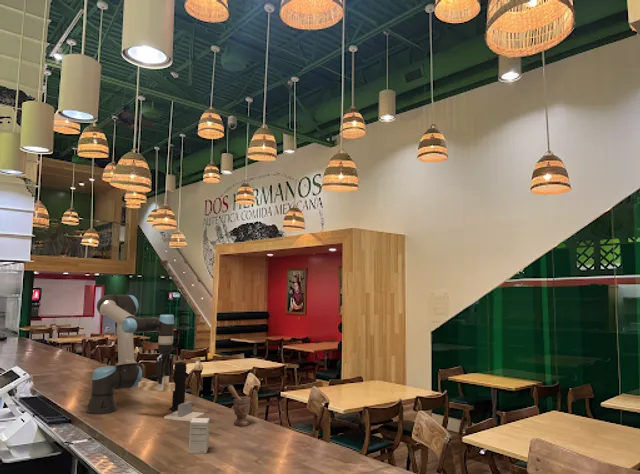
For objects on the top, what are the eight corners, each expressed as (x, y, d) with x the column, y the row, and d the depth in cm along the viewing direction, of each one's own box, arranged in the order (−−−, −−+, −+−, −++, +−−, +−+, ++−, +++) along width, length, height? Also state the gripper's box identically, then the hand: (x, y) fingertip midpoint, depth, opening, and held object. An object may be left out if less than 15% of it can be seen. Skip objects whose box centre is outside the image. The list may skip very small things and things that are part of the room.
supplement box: (191, 448, 212) (192, 417, 213) (208, 448, 212) (210, 417, 214) (187, 453, 204) (189, 422, 206) (206, 453, 205) (207, 422, 206)
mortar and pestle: (233, 428, 244) (234, 386, 246) (223, 425, 250) (225, 384, 252) (252, 425, 251) (254, 384, 254) (243, 421, 258) (245, 382, 260)
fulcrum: (164, 418, 259) (164, 404, 260) (177, 412, 272) (178, 399, 273) (192, 421, 255) (192, 407, 256) (204, 415, 269) (204, 401, 270)
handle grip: (165, 410, 277) (182, 411, 275) (168, 362, 280) (184, 363, 278) (174, 406, 287) (190, 407, 285) (176, 360, 290) (192, 361, 288)
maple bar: (138, 389, 262) (138, 382, 262) (142, 388, 266) (143, 381, 266) (170, 391, 256) (170, 383, 256) (174, 390, 259) (175, 382, 260)
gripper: (162, 345, 253) (160, 392, 250) (180, 342, 270) (178, 387, 267) (149, 345, 255) (147, 391, 252) (168, 342, 272) (165, 386, 269)
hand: (163, 389), depth 259 cm, fingers closed on maple bar, 4 cm apart
